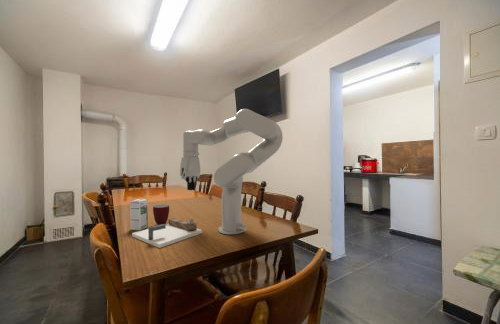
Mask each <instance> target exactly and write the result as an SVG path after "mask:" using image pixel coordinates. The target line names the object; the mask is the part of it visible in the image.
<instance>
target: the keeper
mask: <svg viewBox="0 0 500 324" xmlns="http://www.w3.org/2000/svg"><path fill="white" fill-rule="evenodd" d="M165 228H166V225H165V224H161V225H157V224H156V225H150V226H148V227H147V229H148V240H153V231H155V230H160V229H165Z"/></svg>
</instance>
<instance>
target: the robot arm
mask: <svg viewBox="0 0 500 324" xmlns="http://www.w3.org/2000/svg"><path fill="white" fill-rule="evenodd" d="M247 132H250V133H252V134H254V135H256V136H258V137H260V138H262V140H261V141H260V142H259V143H258V144H256V145H255V146H253V147H252V148H251V149H249V151H246V152H239V153H236V154H235V155H233V156H231V158H229V159H228V160H227V161H226V162H225V163H223V164H221V166H220V167H219V168H217V169H216V171H215V172H214V174H213V180H214V183H215V185H216V186H218V187H219V188H221V189H222V191H221V226H219V227H218V232H219V233H220V234H223V235H239V234H242V233H243V232H246V230H247V228H248V226H247V225H244V221H242V191H243V190H242V188H243V181H244V175H246V174H250V173H252V172H254V171H255V170H256V169H257V168H258V167H260V166H261V165H263V164H264V163H265V162H266V161H268V160H269V159H270V158H271V157H272V156H274V155H275V154H276V153H277V152H278V151H279V149H280V148H281V146H282V144H283V131H282V129H281V127H280V126H279V124H278V123H277V122H275V121H274V120H272V119H271V118H268V117H266V116H264V115H261V114H259V113H257V112H255V111H253V110H251V109H249V108H242V109H240V110H238V111H237V112H236V114H235V115H234V117H231V118H228V119H226V120H224V121H223V123H222V126H221V127H219V128H217V129H215V130H212V131H209V130H205V129H196V130H185V131H183V138H182V139H183V146H182V148H183V150H182V152H183V155H182V157H181V161H180V167H179V168H180V169H179V175H180V176H181V179H182V180H184V181H186V185H187V186H186V188H187V191H194V190H195V183H196V181H197V179H200V177H201V176H200V175H201V161H200V157H199V156H200V152H199V145H200V146H208V147H209V146H214V145H218V144H220V143H221V144H222V142H225V141H227V140H229V139H231V138H232V137H235V136H238V135H241V134H243V133H247Z"/></svg>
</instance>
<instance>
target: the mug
mask: <svg viewBox="0 0 500 324" xmlns="http://www.w3.org/2000/svg"><path fill="white" fill-rule="evenodd" d="M152 214H153V218H154V222H155V224H156V225H161V224H167V222H168V221H169V214H170V205H169V204H164V203H163V204H156V205H153V207H152Z"/></svg>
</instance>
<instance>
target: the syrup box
mask: <svg viewBox="0 0 500 324" xmlns="http://www.w3.org/2000/svg"><path fill="white" fill-rule="evenodd" d="M129 217H130V220H129V223H130V230H132V231H142V230H145V228H146V229H147V228H148V227H149V226H148V223H149V222H148V221H149V220H148V217H149V216H148V199H146V198H137V199H134V200H130V201H129Z"/></svg>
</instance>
